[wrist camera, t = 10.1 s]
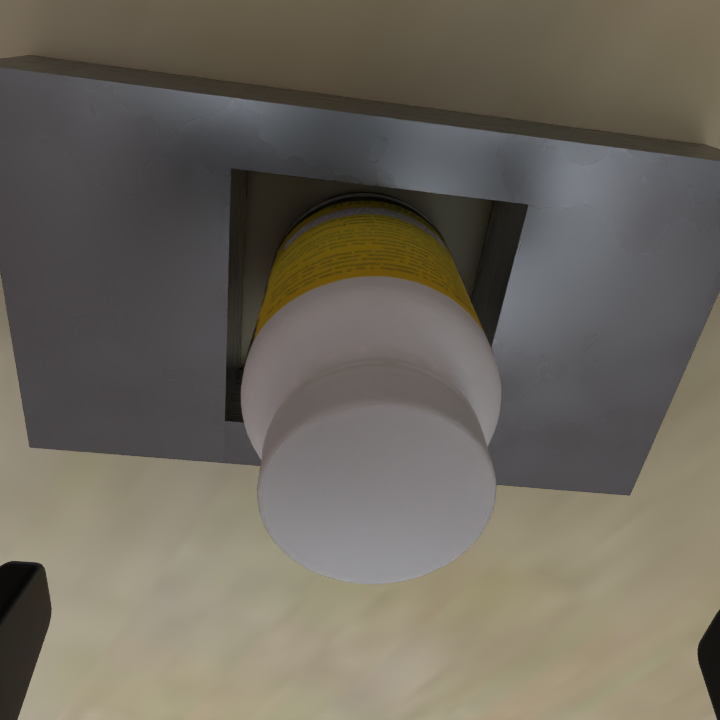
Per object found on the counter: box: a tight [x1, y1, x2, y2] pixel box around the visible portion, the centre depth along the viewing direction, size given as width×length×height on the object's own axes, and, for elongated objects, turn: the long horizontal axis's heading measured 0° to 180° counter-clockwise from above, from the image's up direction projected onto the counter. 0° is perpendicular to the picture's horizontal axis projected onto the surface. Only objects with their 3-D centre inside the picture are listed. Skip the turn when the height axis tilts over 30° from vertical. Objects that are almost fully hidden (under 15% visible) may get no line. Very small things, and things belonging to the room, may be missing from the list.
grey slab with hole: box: [0, 55, 720, 495], centre depth 17 cm, size 18×10×3 cm, turn 83°
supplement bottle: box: [241, 193, 501, 584], centre depth 14 cm, size 5×5×10 cm
